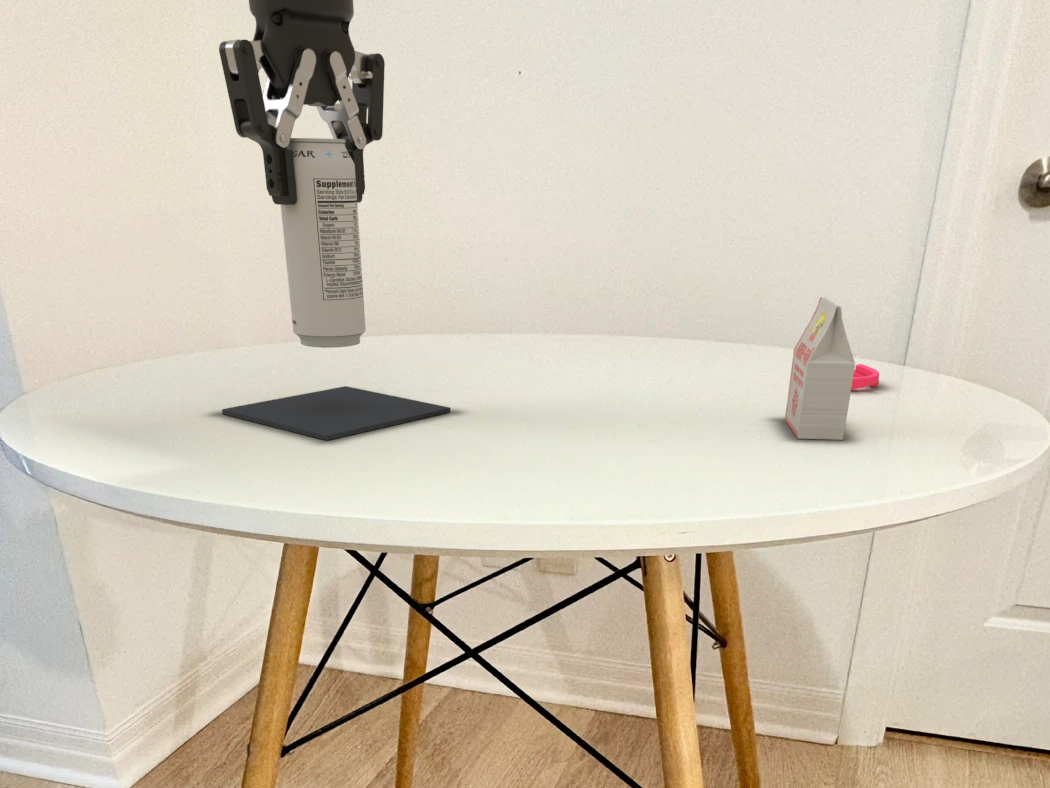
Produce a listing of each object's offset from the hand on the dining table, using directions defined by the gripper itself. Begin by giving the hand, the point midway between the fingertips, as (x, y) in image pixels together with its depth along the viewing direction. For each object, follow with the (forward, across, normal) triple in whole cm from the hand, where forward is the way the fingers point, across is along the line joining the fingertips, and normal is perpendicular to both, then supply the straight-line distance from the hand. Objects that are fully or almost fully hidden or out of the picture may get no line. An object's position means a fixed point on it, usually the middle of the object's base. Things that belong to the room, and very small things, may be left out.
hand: (318, 202), depth 80 cm
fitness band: (+17, -44, +27) cm, 54 cm away
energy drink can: (+11, 0, 0) cm, 11 cm away
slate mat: (+16, 0, 0) cm, 16 cm away
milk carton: (+17, -23, +34) cm, 44 cm away
